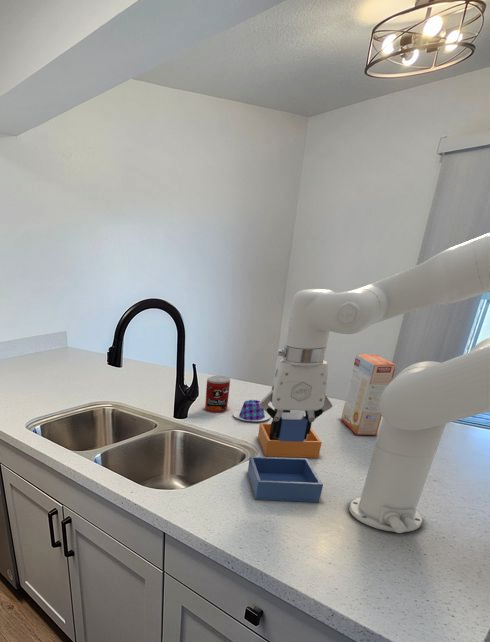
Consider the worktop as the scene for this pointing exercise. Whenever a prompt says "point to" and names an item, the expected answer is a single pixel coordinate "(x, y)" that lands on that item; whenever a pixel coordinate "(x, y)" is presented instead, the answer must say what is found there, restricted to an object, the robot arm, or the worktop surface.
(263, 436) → the amber bin
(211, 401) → the canned food
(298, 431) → the blue block
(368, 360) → the cracker box
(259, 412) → the pudding
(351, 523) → the worktop surface
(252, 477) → the blue bin
